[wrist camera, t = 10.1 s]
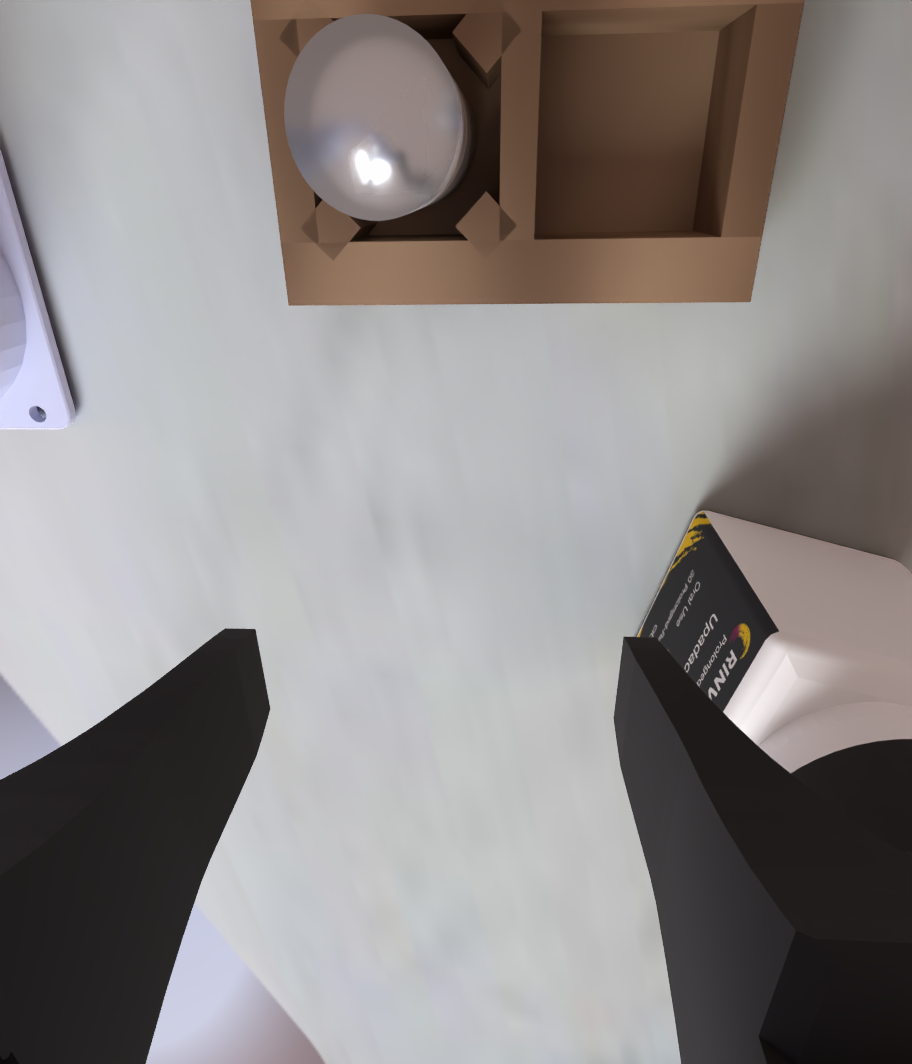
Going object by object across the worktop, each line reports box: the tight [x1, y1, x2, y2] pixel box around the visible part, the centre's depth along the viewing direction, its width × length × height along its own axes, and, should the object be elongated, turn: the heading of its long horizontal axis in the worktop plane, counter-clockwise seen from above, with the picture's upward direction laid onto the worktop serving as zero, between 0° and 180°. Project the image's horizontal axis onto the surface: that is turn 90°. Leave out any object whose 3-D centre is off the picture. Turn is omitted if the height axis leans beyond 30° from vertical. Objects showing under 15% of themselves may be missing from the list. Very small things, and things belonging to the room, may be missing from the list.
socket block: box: [251, 0, 804, 305], centre depth 16 cm, size 11×7×3 cm, turn 91°
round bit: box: [284, 14, 476, 221], centre depth 14 cm, size 3×3×6 cm
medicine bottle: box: [637, 510, 912, 857], centre depth 18 cm, size 7×7×12 cm
